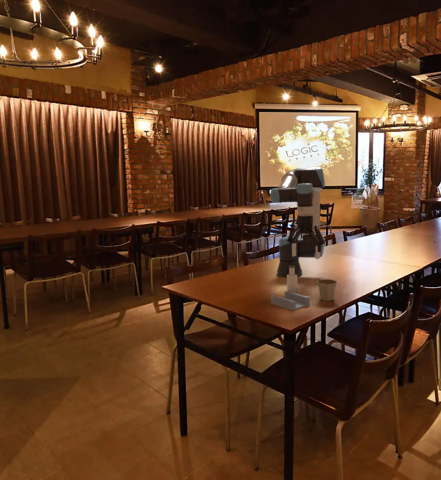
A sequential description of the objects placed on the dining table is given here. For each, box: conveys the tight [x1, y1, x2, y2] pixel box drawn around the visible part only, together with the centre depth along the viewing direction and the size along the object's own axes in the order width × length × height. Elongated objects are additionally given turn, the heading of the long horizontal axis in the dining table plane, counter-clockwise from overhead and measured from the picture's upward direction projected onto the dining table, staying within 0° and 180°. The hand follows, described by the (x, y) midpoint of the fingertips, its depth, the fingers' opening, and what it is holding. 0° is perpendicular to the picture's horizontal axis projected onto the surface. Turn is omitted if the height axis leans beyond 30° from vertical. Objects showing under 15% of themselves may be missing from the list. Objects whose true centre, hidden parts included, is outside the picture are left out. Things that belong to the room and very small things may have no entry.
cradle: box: [270, 290, 311, 311], centre depth 183 cm, size 14×11×4 cm
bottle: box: [286, 266, 299, 294], centre depth 197 cm, size 5×5×15 cm
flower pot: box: [316, 278, 338, 302], centre depth 188 cm, size 9×9×9 cm
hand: (305, 257), depth 197 cm, fingers open, 13 cm apart
